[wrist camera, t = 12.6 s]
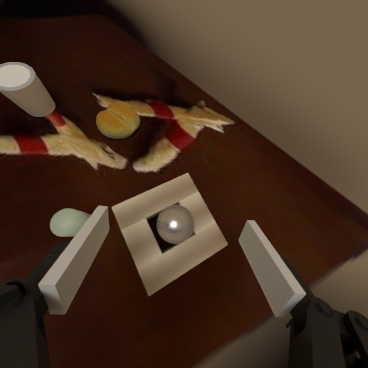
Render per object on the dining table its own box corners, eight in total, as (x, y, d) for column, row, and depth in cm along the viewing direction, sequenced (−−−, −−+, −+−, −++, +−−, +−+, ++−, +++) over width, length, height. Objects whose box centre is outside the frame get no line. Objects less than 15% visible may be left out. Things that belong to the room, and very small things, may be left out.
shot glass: (19, 97, 33) (-15, 64, 27) (54, 91, 35) (30, 58, 29) (25, 122, 32) (-10, 93, 25) (61, 114, 34) (38, 85, 27)
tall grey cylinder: (154, 224, 29) (150, 215, 14) (171, 216, 30) (183, 198, 15) (163, 242, 29) (167, 251, 14) (179, 232, 30) (201, 231, 15)
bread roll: (91, 127, 34) (82, 113, 30) (120, 104, 37) (115, 89, 33) (120, 148, 33) (115, 137, 30) (147, 123, 37) (145, 110, 33)
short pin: (77, 221, 28) (46, 216, 20) (97, 211, 29) (75, 204, 21) (83, 239, 27) (54, 241, 19) (104, 229, 28) (84, 227, 20)
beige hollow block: (125, 215, 29) (111, 207, 21) (180, 188, 32) (187, 172, 24) (152, 276, 27) (148, 296, 18) (208, 241, 30) (228, 244, 22)
